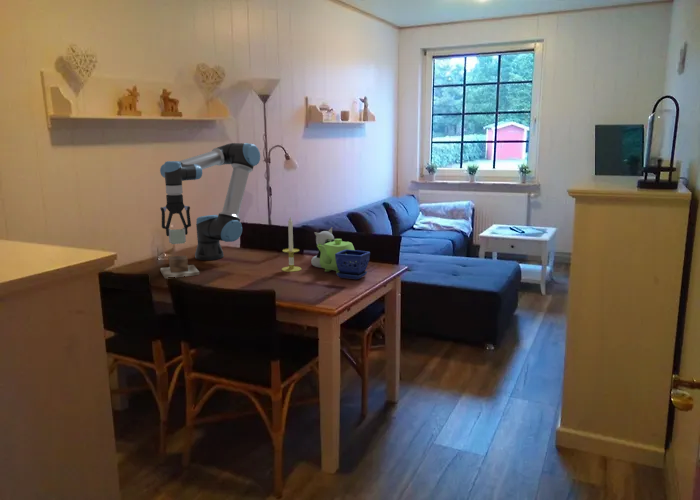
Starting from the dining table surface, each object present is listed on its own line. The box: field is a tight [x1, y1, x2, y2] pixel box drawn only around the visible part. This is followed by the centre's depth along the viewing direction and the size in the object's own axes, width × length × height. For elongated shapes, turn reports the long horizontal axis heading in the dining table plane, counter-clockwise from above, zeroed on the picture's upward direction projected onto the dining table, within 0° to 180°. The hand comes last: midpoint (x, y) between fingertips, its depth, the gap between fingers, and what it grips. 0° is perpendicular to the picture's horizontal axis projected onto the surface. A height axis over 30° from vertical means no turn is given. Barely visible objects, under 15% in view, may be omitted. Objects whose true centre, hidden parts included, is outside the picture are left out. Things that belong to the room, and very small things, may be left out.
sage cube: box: [170, 228, 186, 245], centre depth 267 cm, size 6×6×6 cm
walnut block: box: [168, 255, 189, 273], centre depth 270 cm, size 8×8×6 cm
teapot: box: [316, 238, 356, 275], centre depth 274 cm, size 25×22×16 cm
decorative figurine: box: [310, 226, 335, 269], centre depth 283 cm, size 15×15×20 cm
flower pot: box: [335, 249, 371, 280], centre depth 261 cm, size 13×13×12 cm
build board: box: [160, 264, 200, 280], centre depth 271 cm, size 16×16×2 cm
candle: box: [281, 216, 302, 273], centre depth 275 cm, size 10×10×27 cm
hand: (177, 241), depth 268 cm, fingers closed on sage cube, 6 cm apart
